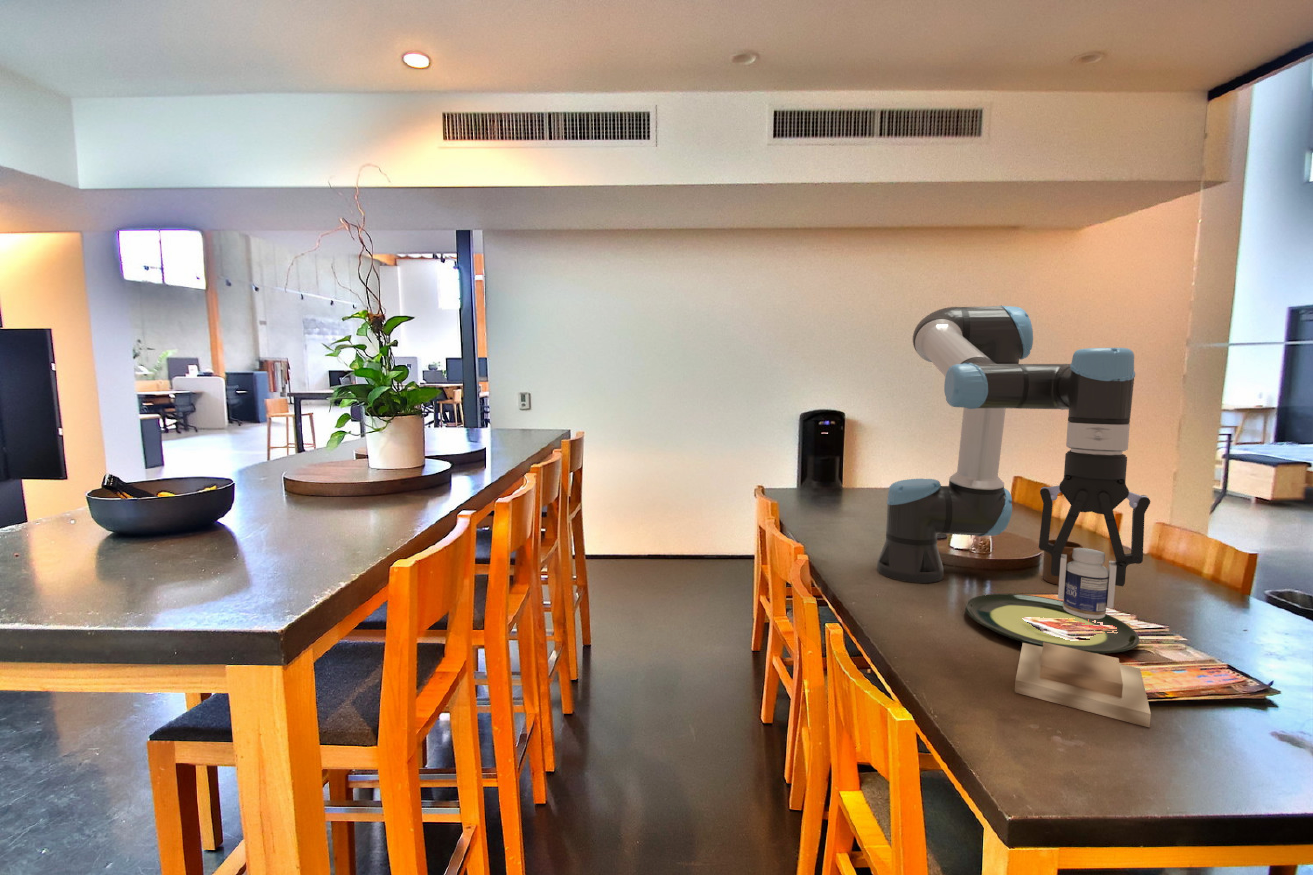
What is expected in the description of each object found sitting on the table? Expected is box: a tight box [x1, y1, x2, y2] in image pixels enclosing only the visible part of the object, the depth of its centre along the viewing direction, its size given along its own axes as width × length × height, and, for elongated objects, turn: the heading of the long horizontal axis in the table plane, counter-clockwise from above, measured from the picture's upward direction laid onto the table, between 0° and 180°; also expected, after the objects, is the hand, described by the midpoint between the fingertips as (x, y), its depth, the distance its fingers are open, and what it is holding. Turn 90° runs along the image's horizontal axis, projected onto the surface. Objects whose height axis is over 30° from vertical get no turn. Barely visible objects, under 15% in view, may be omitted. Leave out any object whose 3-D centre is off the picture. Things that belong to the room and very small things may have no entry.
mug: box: [1042, 539, 1084, 586], centre depth 139 cm, size 12×8×9 cm, turn 172°
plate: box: [964, 593, 1141, 655], centre depth 114 cm, size 28×28×2 cm
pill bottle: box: [1062, 547, 1109, 619], centre depth 91 cm, size 5×5×10 cm
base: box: [1014, 642, 1152, 729], centre depth 93 cm, size 16×16×4 cm
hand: (1084, 600), depth 91 cm, fingers closed on pill bottle, 5 cm apart
